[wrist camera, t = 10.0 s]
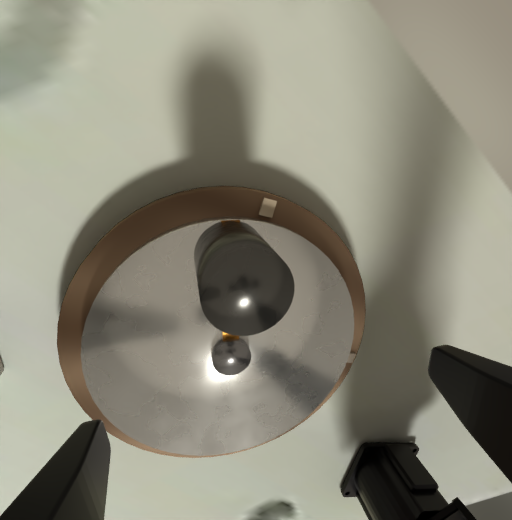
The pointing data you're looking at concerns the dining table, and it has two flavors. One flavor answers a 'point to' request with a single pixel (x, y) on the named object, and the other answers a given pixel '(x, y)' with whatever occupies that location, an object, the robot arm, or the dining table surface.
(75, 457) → the robot arm
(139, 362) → the dial
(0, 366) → the coffee box
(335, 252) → the dial base
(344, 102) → the dining table surface
